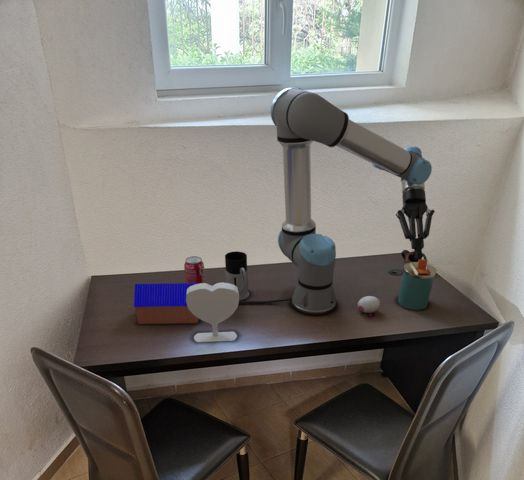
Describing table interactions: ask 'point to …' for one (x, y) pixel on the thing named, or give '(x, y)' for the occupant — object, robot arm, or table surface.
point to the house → (163, 303)
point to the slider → (422, 267)
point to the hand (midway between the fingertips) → (418, 257)
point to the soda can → (194, 270)
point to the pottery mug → (411, 256)
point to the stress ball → (368, 304)
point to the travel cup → (415, 286)
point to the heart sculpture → (213, 308)
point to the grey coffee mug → (237, 272)
